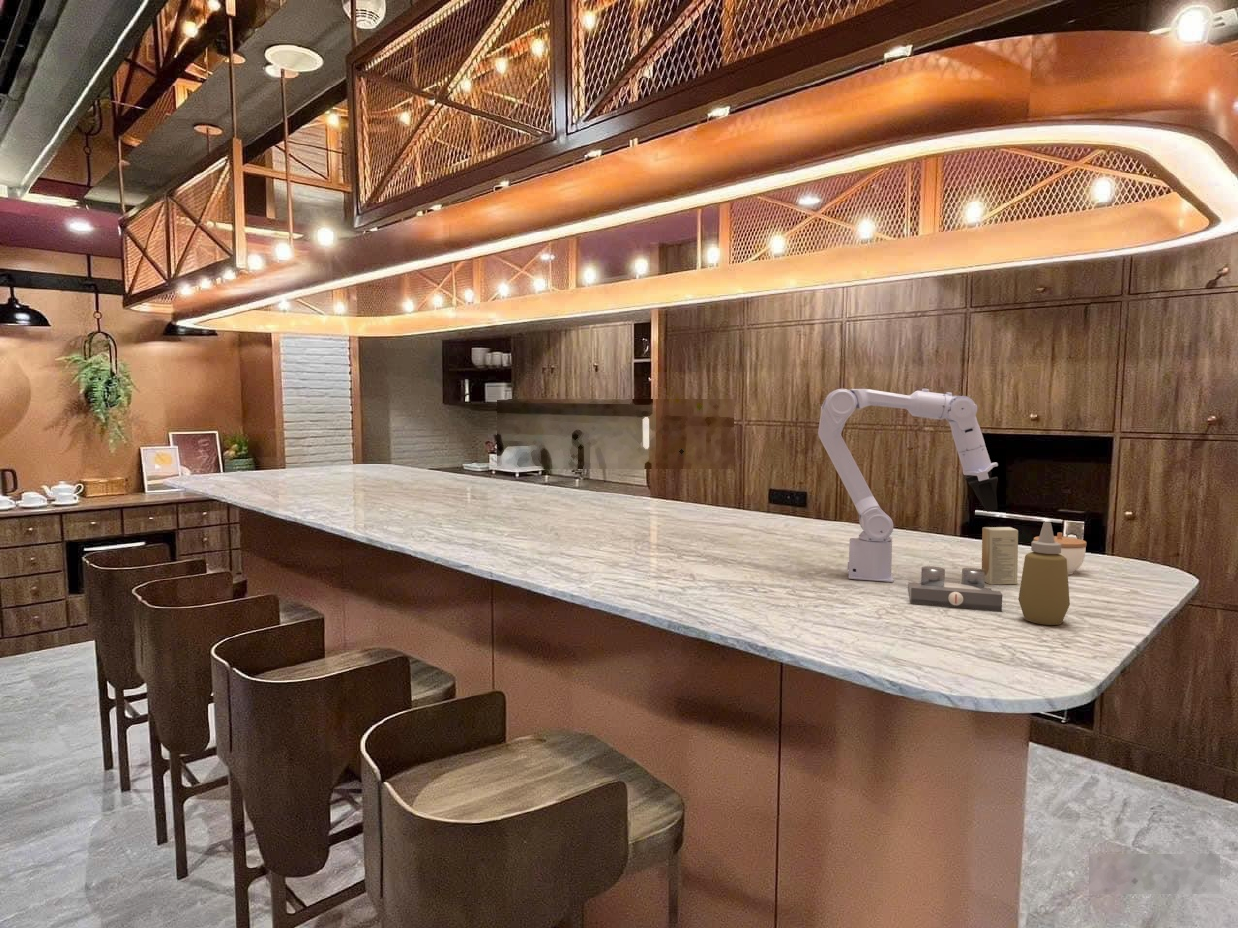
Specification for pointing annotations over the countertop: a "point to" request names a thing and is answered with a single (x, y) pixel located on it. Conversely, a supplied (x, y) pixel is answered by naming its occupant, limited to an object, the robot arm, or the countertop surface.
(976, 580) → the cylinder
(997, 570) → the skincare box
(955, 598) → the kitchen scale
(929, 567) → the block
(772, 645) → the countertop surface
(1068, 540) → the lidded jar
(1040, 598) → the squeeze bottle
